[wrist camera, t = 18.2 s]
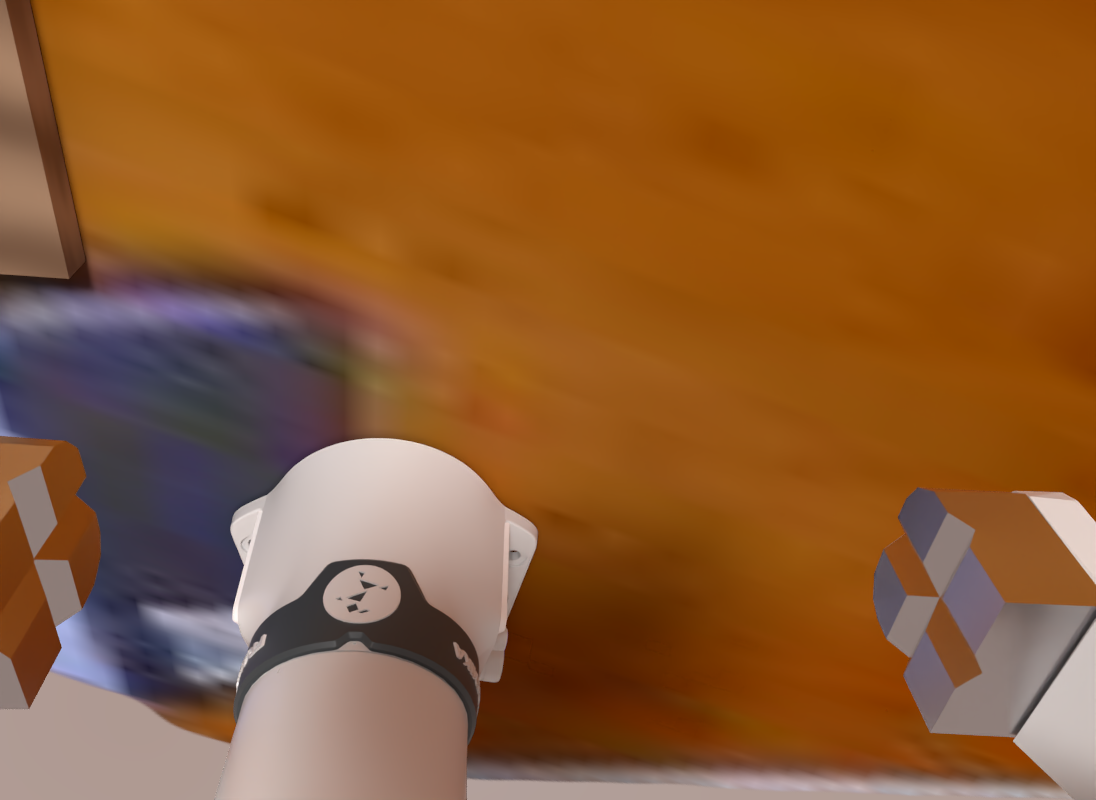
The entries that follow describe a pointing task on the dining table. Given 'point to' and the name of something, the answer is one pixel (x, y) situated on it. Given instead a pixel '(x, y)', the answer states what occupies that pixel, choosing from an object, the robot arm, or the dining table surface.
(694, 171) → the dining table surface
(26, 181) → the shelf
